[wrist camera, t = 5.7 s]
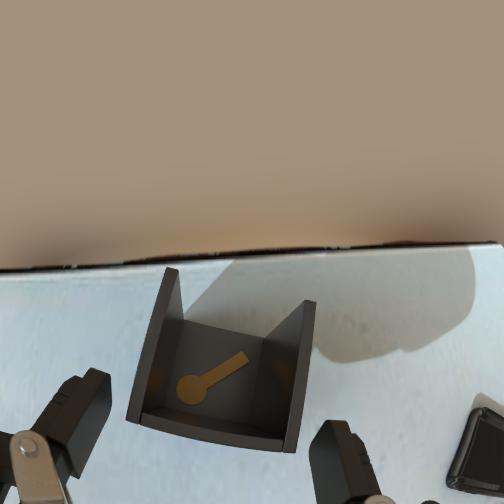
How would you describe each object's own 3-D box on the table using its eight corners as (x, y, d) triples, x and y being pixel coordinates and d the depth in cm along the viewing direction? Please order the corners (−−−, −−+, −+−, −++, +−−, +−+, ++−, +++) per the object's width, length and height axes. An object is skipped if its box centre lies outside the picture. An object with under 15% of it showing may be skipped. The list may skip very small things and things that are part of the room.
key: (187, 410, 15) (186, 410, 15) (170, 384, 16) (169, 384, 15) (253, 369, 17) (254, 368, 17) (236, 345, 17) (237, 344, 17)
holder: (154, 411, 15) (124, 420, 8) (176, 320, 18) (166, 266, 11) (253, 432, 16) (295, 453, 9) (269, 341, 19) (316, 301, 12)
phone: (481, 403, 17) (536, 436, 15) (472, 405, 18) (529, 437, 16) (450, 488, 13) (515, 499, 12) (441, 487, 14) (508, 499, 12)
